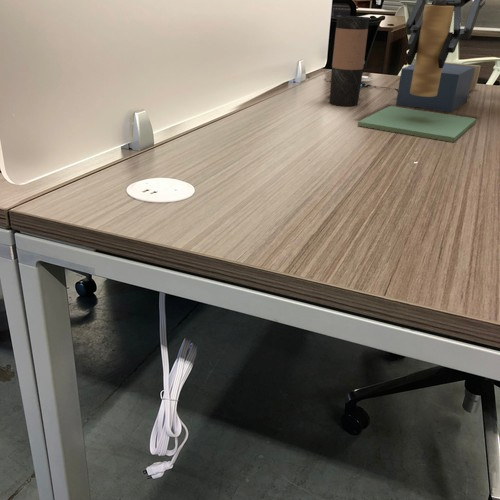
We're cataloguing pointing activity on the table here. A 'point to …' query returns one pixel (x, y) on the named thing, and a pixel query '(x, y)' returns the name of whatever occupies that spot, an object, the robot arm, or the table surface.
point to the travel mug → (348, 59)
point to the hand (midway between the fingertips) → (424, 61)
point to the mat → (419, 123)
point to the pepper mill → (431, 48)
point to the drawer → (475, 74)
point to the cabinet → (449, 91)
